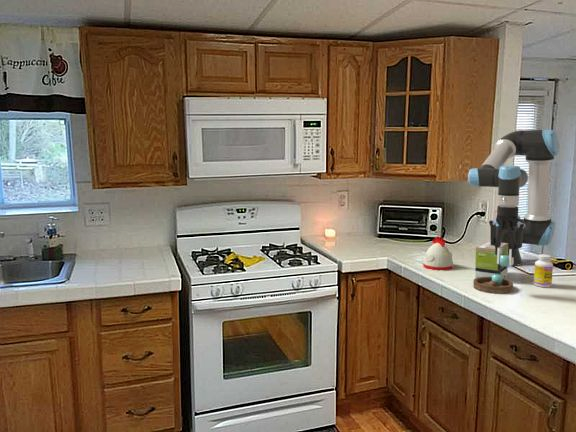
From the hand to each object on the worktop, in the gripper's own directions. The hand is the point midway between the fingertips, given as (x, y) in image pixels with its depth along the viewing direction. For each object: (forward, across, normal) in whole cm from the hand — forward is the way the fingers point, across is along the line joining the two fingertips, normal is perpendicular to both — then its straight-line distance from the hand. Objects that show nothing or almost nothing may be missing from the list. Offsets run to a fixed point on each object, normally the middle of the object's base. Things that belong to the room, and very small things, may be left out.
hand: (505, 263), depth 193 cm
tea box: (+13, -13, +20) cm, 27 cm away
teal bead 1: (+11, -6, +7) cm, 15 cm away
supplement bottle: (+13, +8, +21) cm, 25 cm away
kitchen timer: (+13, -39, +19) cm, 46 cm away
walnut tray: (+12, -6, +4) cm, 14 cm away
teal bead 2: (0, 0, 0) cm, 0 cm away
